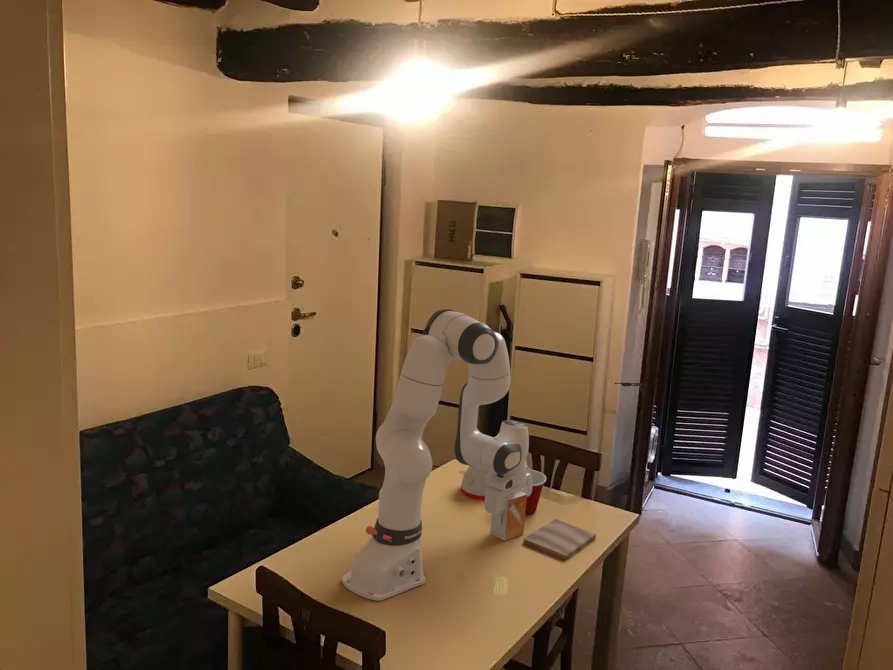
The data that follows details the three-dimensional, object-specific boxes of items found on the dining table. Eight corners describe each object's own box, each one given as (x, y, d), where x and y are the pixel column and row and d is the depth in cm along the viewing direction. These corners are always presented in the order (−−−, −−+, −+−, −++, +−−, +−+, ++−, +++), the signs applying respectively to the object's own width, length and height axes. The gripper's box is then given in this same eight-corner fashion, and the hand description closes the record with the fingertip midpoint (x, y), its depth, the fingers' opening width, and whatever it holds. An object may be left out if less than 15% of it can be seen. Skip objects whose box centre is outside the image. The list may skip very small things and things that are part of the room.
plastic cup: (503, 512, 231) (506, 477, 229) (517, 501, 241) (520, 466, 238) (535, 522, 226) (539, 485, 224) (548, 509, 236) (551, 474, 233)
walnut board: (565, 560, 204) (566, 555, 204) (523, 543, 212) (523, 538, 212) (595, 538, 218) (596, 534, 218) (554, 523, 226) (555, 518, 226)
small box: (504, 542, 212) (508, 500, 210) (489, 533, 217) (492, 492, 214) (524, 534, 218) (527, 493, 215) (508, 526, 222) (512, 486, 220)
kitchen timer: (474, 503, 237) (477, 459, 234) (453, 486, 249) (456, 445, 246) (510, 496, 244) (513, 454, 241) (488, 481, 256) (491, 440, 253)
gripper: (521, 461, 223) (518, 503, 226) (482, 480, 208) (479, 525, 211) (539, 467, 220) (535, 509, 222) (500, 487, 204) (497, 533, 207)
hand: (507, 517), depth 216 cm, fingers closed on small box, 8 cm apart
